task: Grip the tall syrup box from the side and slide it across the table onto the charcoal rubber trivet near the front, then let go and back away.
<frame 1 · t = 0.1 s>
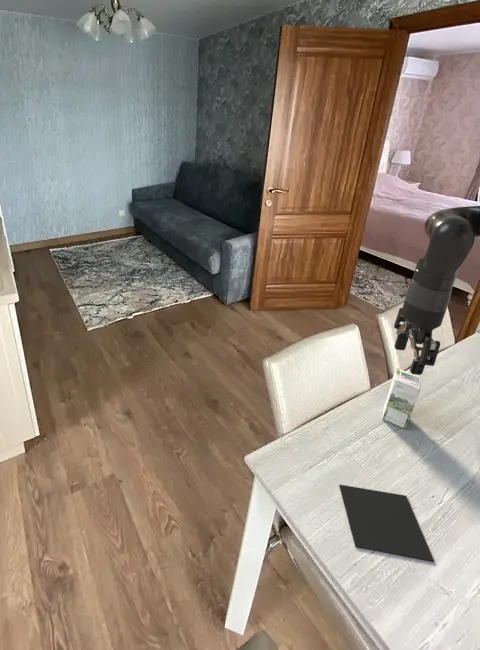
hand: (406, 360, 81), 25 cm above the table, tool pointing down, fingers open, 8 cm apart
trivet: (382, 520, 72), on the table
syrup box: (394, 418, 96), on the table
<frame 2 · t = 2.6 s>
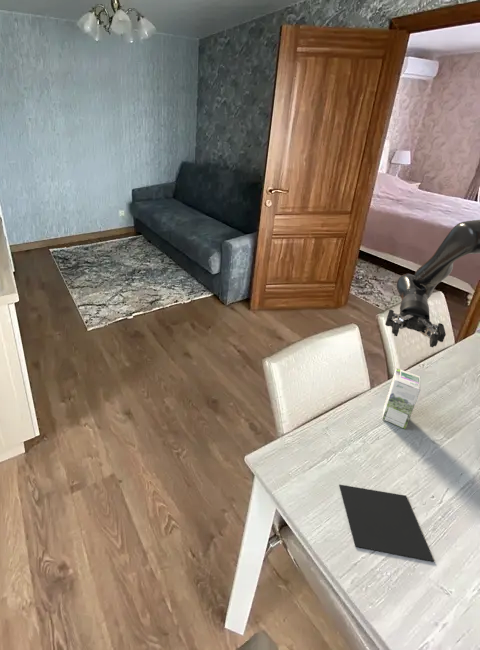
hand: (414, 339, 96), 20 cm above the table, tool horizontal, fingers open, 8 cm apart
nothing on the table moved.
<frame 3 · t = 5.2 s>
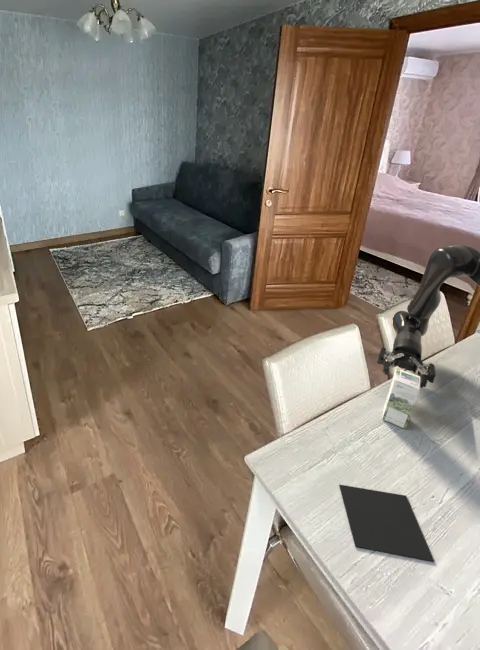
hand: (403, 378, 98), 9 cm above the table, tool horizontal, fingers open, 8 cm apart
nothing on the table moved.
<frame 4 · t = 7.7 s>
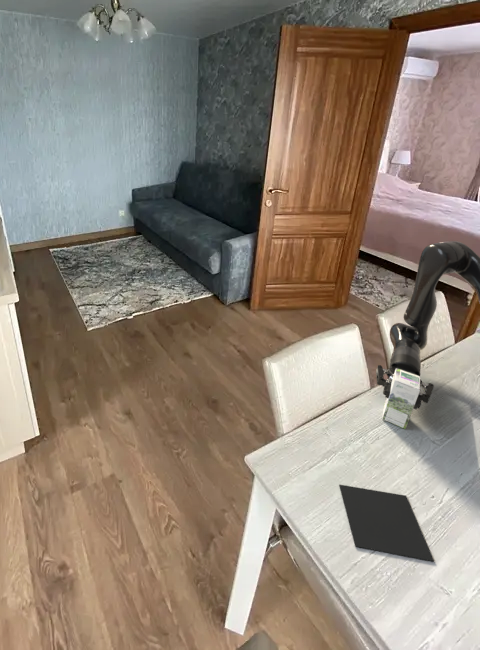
hand: (401, 400, 90), 9 cm above the table, tool horizontal, fingers closed on syrup box, 5 cm apart
syrup box: (394, 418, 95), on the table, touching gripper
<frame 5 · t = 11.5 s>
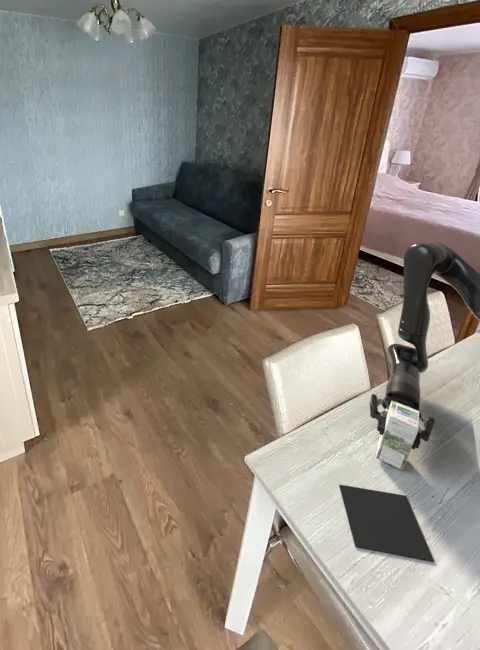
hand: (397, 439, 79), 9 cm above the table, tool horizontal, fingers closed on syrup box, 5 cm apart
syrup box: (389, 456, 84), on the table, touching gripper
when the fingers open (9 cm above the table, at t = 15.5 s): syrup box stays where it is, resting on trivet.
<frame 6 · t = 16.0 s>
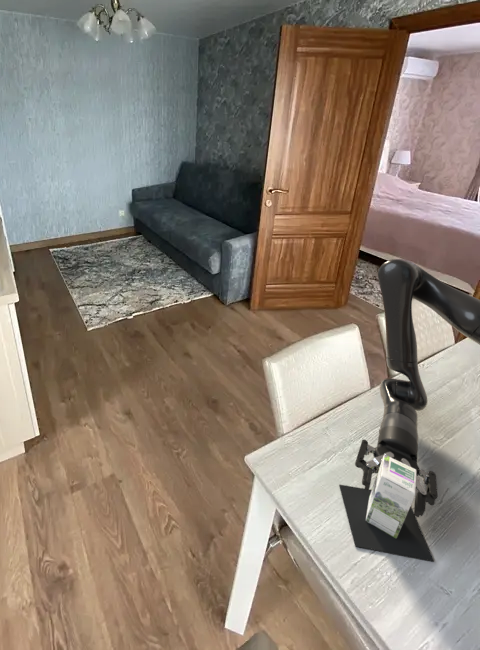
hand: (391, 500, 67), 9 cm above the table, tool horizontal, fingers open, 8 cm apart
syrup box: (381, 519, 72), resting on trivet
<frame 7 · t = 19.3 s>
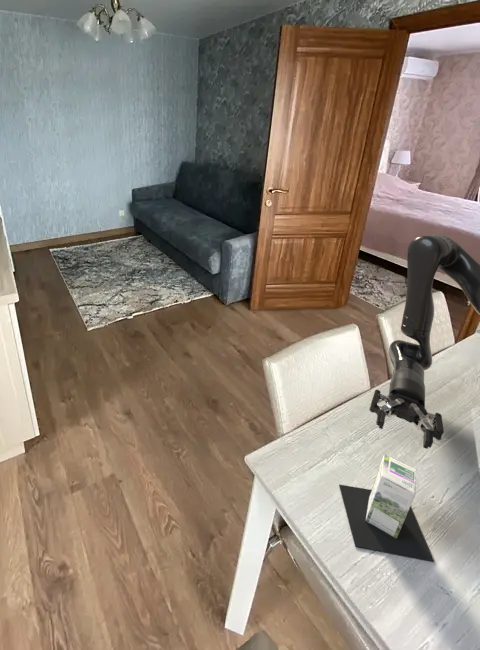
hand: (403, 435, 76), 13 cm above the table, tool horizontal, fingers open, 8 cm apart
nothing on the table moved.
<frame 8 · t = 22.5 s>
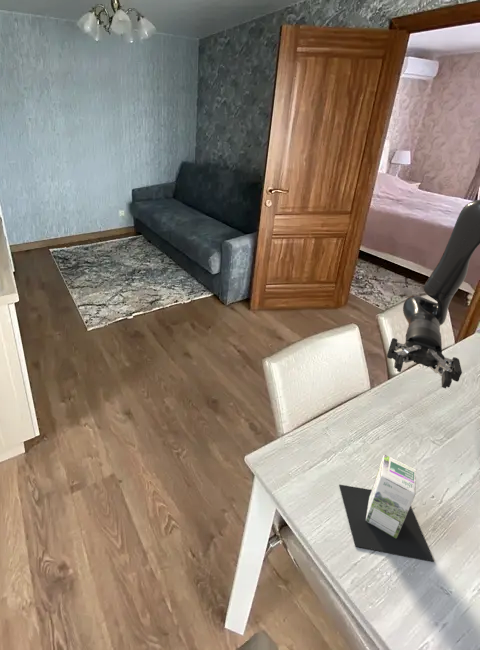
hand: (421, 376, 77), 24 cm above the table, tool horizontal, fingers open, 8 cm apart
nothing on the table moved.
at the end: syrup box inside the target area on the trivet (0.1 cm from its centre), point 0.1 cm above the trivet's base; syrup box tilted 0°; the gripper is holding nothing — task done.
